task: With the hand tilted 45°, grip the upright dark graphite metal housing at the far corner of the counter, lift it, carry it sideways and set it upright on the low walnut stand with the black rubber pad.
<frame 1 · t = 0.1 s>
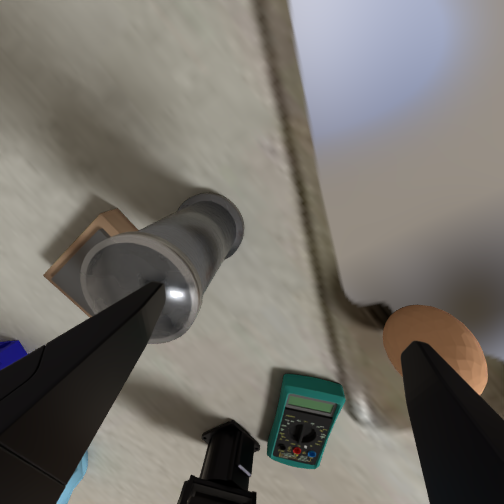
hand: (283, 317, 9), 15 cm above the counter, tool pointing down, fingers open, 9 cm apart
digital multimeter: (301, 411, 33), on the counter
egg: (404, 316, 25), on the counter
stand: (125, 275, 27), on the counter
housing: (210, 227, 24), on the counter
teapot: (57, 442, 43), on the counter
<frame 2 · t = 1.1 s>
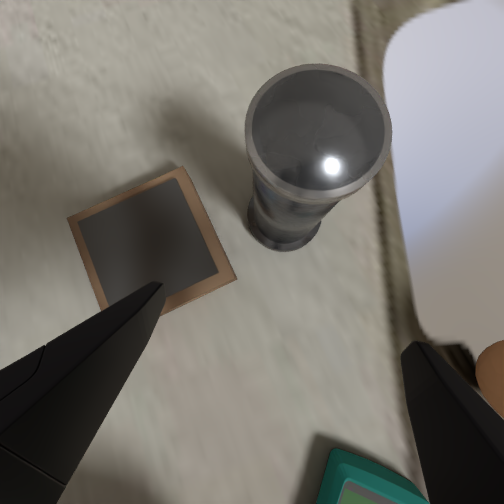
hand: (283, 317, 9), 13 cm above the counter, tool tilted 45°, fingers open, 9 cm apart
egg: (488, 368, 21), on the counter
stand: (160, 251, 23), on the counter
housing: (283, 216, 23), on the counter
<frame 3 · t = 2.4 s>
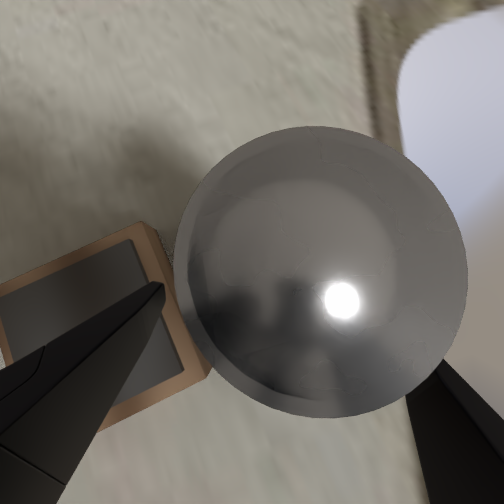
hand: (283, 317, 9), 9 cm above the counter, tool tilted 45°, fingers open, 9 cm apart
stand: (114, 327, 18), on the counter
housing: (273, 281, 18), on the counter
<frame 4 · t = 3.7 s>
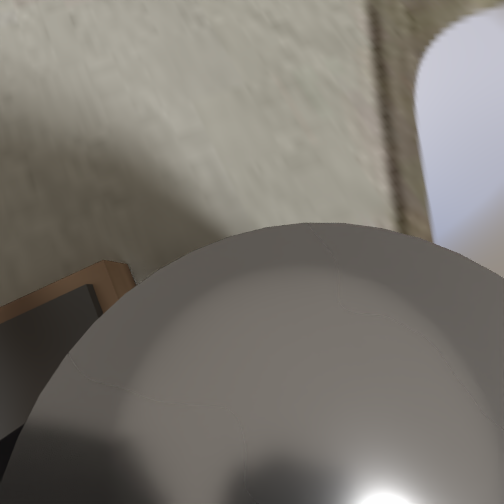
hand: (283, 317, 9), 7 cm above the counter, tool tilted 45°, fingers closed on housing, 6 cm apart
stand: (76, 383, 15), on the counter
housing: (266, 327, 15), on the counter, touching gripper
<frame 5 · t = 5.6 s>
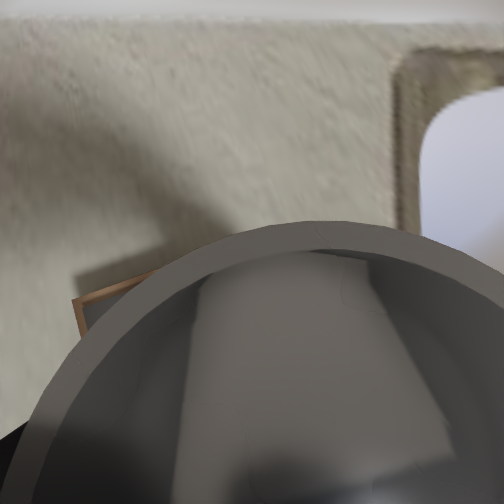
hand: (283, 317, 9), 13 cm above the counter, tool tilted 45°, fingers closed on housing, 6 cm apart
stand: (166, 335, 21), on the counter
housing: (267, 326, 15), point 7 cm above the counter, touching gripper
when the fingers open (10 cm above the counter, at t = 7.5 s): housing stays where it is, resting on stand.
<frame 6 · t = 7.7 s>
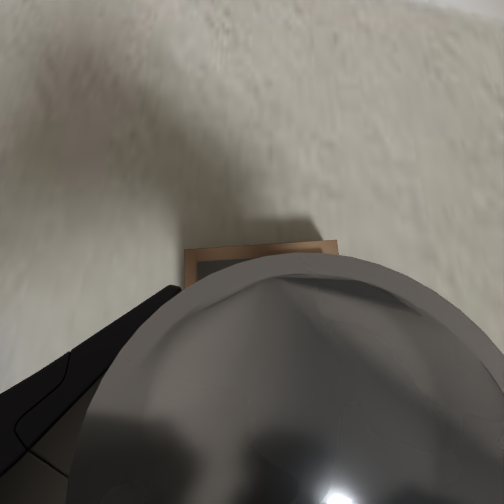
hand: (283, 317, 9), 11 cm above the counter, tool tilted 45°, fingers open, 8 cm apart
stand: (264, 318, 19), on the counter
housing: (265, 326, 16), point 3 cm above the counter, touching stand
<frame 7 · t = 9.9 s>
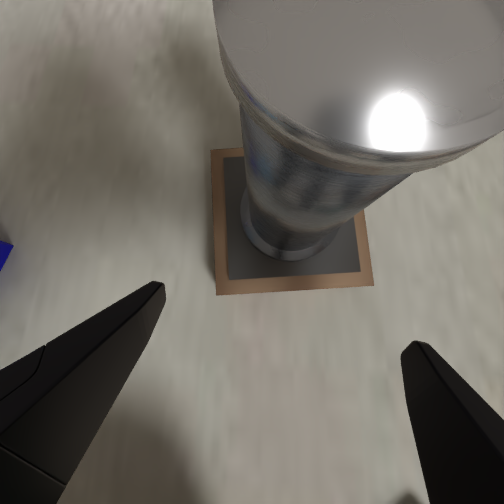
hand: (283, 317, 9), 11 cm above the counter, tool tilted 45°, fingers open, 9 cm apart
stand: (284, 223, 20), on the counter
housing: (289, 214, 17), point 3 cm above the counter, touching stand
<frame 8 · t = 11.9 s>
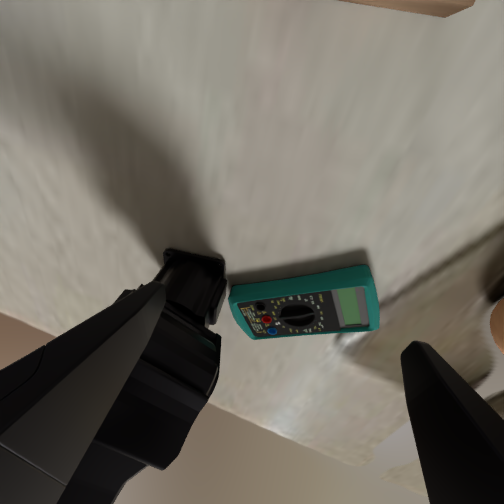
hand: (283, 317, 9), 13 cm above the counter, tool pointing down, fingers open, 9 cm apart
digital multimeter: (301, 295, 27), on the counter
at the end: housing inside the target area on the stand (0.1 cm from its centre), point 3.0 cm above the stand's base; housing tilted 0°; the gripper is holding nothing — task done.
